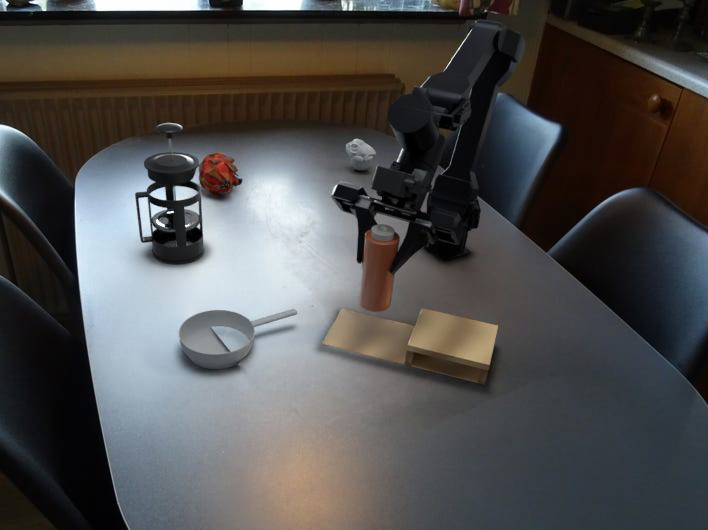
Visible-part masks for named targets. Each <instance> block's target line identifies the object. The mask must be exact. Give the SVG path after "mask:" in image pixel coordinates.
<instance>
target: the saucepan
mask: <svg viewBox="0 0 708 530" xmlns="http://www.w3.org/2000/svg"><path fill="white" fill-rule="evenodd" d="M297 314H298V310H297V309H295V308H290V309H287V310H284V311H281V312H277V313H274V314H270V315H267V316H263V317H260V318H257V319H253V320H250V319H249V318H248V317H247V316H245V315H243V314H241V313H239V312H235V311H232V310H225V309H213V310H211V309H210V310H205V311H201V312H198V313H195V314H192V315H191V316H189V317H188V318H186V319H185V320H184V321H183V322H182V324H181V325H180V327H179V330H178V338H179V343H180V347H181V349H182V351H183V352H184V353H185V355H186V356H187V357H188V358H189V359H190V361H191V362H193V363H194V364H195V365H197V366H199V367H201V368H205V369H209V370H210V369H211V370H222V369H228V368H231V367H235V366H237V365H238V364H239V363H240V361H241V360H242V359H244V358H245V357H247V355H248V354H249V353H250V351H251V349H252V348H253V345H254V342H255V333H256V329H255V328H257V327H260V326H263V325H266V324H271V323H273V322H276V321H281V320H283V319H287V318H290V317H293V316H296V315H297ZM213 327H215V328H216V327H224V328H231V329H234V330H237V331H239V332H241V333H242V334H243V335H245V337H247V339H248V343H246V344H245V345H244V346H242V347H240V348H238V349H236V350H232V351H231V350H230V349H229V348H228V346H227V344H225V342H224V341H223V339H221V338H220V336H219V335H218V334H217V332H216V331H215V330H214V329H213Z"/></svg>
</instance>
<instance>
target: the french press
mask: <svg viewBox="0 0 708 530" xmlns="http://www.w3.org/2000/svg"><path fill="white" fill-rule="evenodd" d="M155 130H156V132H158V133H162V134H166V139H167V140H168V147H169V151H167V152H160V153H156V154H153V155H150V156H148V157H147V158H145V160H144V161H143V167H144V168H145V169H146V170H147V177H148V179H149V180H151V181H152V183H151V184H150V185H149V186H148V187H147V188H146V190H145V191H136V192H135V193H134V198H135V206H136V207H135V208H136V214H137V215H136V216H137V225H138V233H139V239H140V242H141V243H142V244H146V243H151V255H152V257H153V258H154V259H155V260H157V261H158V262H161V263H163V264H167V265H185V264H189V263H193V262H196V261H198V260H200V259H202V257H203V256H204V254H205V253H206V248H205V244H204V228H203V227H204V226H203V210H202V190H201V185H200V184H198V183H197V182H195V181H192V180H193V179H194V177H195V175H196V171H197V168H199V167H198V166H199V165H200V160H199V159H198V157H196V156H195V155H192V154H189V153H185V152H179V151H173V145H172V139H173V134H176V133H179V132H181V131H182V130H183V126H182V125H180V124H178V123H175V122H174V123H172V122H166V123H161V124H158V125H156V126H155ZM176 187H182V188H184V187H185V188H189V189H190V190H191V189H192V190H194V191H195V192H197V193H196V194H195V195H193V196H191V197H188V198H184V199H178V200H177V194H176ZM163 188H164V190H165V191H164V192H165V199H162V198H161V199H160V198H157V197H154V196H152V195H151V194H152V193H153V192H155V191H156V190H160V189H163ZM142 198H143V199H144V198H147V206H148V208H147V209H148V217H149V228H150V235H146V236H143V227H142V218H141V210H140V201H139V200H140V199H142ZM196 203H197V204H198V213H197V212H196V211H193V210H191V209H187V207H190V206H192V205H195V204H196ZM151 204H152V205H153V206H156V207H158V208H164V209H163V210H160V211H159V212H157V213H155V214H154V215H153V216H152V207H151ZM198 226H199V227H198ZM171 242H175V243H176V246H169V245H165V244H167V243H171ZM187 242H188V243H190V244H187Z"/></svg>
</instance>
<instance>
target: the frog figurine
mask: <svg viewBox="0 0 708 530" xmlns="http://www.w3.org/2000/svg"><path fill="white" fill-rule="evenodd" d="M345 151H346V153H347V155H348V157H349V158H350V160H349V161H350V165H351V167H353V168H354V169H355V170H357V171H366V170H368V169H369V168H370V167H371V165H372V163H373V160H374V156H376V155H377V152H376V150H375V148H373V147H372V146H371V145H369V144H368V143H366V142H364V140H363V139H359V138H354V139H353V140H352V141H350V142H348V143H346V144H345Z"/></svg>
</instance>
